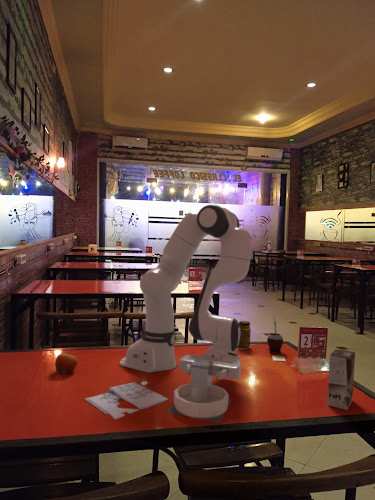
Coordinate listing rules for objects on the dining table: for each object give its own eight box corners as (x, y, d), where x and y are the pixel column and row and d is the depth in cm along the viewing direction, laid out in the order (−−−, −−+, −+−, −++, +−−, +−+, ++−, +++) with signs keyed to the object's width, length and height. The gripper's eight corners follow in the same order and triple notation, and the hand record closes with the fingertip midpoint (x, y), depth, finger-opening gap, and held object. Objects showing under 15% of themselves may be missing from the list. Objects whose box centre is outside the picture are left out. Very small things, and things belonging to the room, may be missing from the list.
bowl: (166, 412, 113) (166, 398, 113) (185, 391, 128) (185, 379, 128) (219, 423, 108) (219, 408, 107) (232, 400, 123) (233, 387, 122)
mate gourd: (275, 355, 173) (277, 321, 172) (262, 350, 179) (263, 318, 178) (286, 352, 178) (287, 319, 177) (272, 348, 184) (273, 316, 183)
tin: (189, 404, 116) (191, 364, 116) (195, 398, 121) (196, 359, 121) (206, 407, 114) (208, 367, 114) (211, 400, 119) (212, 361, 119)
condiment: (253, 348, 183) (254, 322, 182) (240, 350, 178) (241, 324, 177) (243, 344, 189) (244, 319, 188) (229, 346, 184) (230, 321, 184)
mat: (166, 414, 113) (166, 412, 113) (185, 393, 128) (185, 391, 128) (219, 425, 108) (219, 423, 108) (232, 402, 123) (232, 400, 123)
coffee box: (348, 410, 119) (351, 358, 119) (326, 405, 123) (329, 354, 122) (353, 400, 127) (356, 351, 126) (332, 395, 131) (335, 348, 130)
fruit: (46, 371, 140) (54, 349, 144) (58, 376, 146) (66, 355, 150) (64, 374, 137) (72, 352, 141) (76, 379, 143) (83, 358, 147)
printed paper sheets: (169, 405, 121) (170, 398, 121) (112, 424, 107) (113, 416, 107) (135, 385, 135) (135, 379, 135) (81, 400, 121) (81, 394, 121)
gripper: (186, 347, 135) (171, 359, 122) (245, 356, 128) (235, 369, 115) (186, 365, 136) (171, 379, 123) (244, 374, 129) (234, 390, 116)
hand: (202, 374), depth 119 cm, fingers open, 8 cm apart
